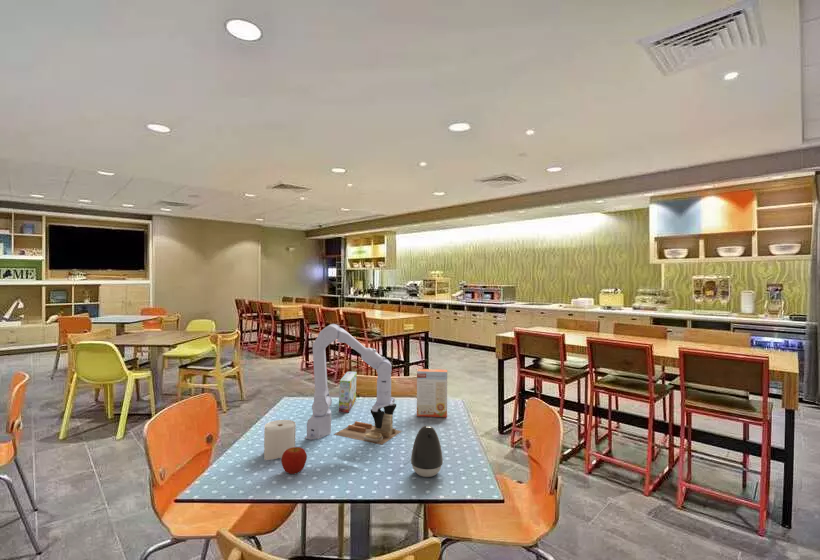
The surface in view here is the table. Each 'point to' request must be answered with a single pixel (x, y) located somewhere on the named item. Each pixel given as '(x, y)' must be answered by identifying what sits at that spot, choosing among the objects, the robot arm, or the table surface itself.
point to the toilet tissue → (278, 438)
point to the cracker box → (432, 393)
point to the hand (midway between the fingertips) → (383, 425)
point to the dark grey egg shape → (426, 452)
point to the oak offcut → (373, 435)
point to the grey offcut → (374, 439)
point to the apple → (294, 460)
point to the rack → (365, 432)
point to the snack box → (347, 391)
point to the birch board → (386, 423)
